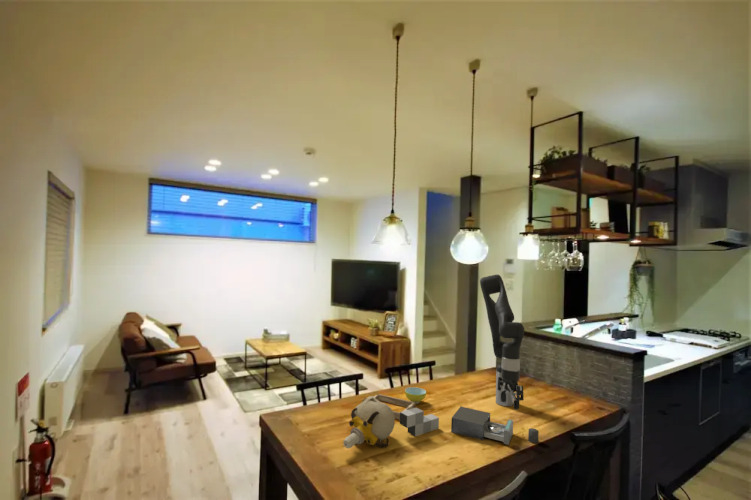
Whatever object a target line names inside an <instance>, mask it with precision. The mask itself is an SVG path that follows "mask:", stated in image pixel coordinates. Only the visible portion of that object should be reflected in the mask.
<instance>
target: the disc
mask: <svg viewBox="0 0 751 500" xmlns="http://www.w3.org/2000/svg"><path fill="white" fill-rule="evenodd" d="M488 432H490V433H493V434H501V433H502V428H501V427H500V426H498V425H494V424H490V425H488Z"/></svg>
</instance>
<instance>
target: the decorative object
mask: <svg viewBox="0 0 751 500" xmlns="http://www.w3.org/2000/svg"><path fill="white" fill-rule="evenodd" d="M374 396H375V395H371V396H370V395H369V396H367V397H363V399H362V400H361V401H362V402H361V403H359V404H358V405H356V407H355V408H353V409H352V410H351V413H350V416H351V417H350V418H351V420H350V421H349V422H348V425H349V426H350V427H353V428H352V429H351V430H350V434H349V435H348V436H346V437H345V438H344V440H343V442H342V444H343V446H342V448H344V447H345V448H346V449H351V448H353V446H355V445H356V444H357V445H362V444H363V443H364V442H365V441H366V443H367V444H368V445H371V446H376V447H378V448H387V446H389V443H390V442H389V439H388V437H389V436H390V435H391V434H392V432H393V430H394V428H395V425H396V423H395V422H396V421H395V420H396V419H395V416H394V412H393V411H394V410H393V409H392V408H391V407H390V406H389V405H388V404H387V403H386V402H383V401H379V400H377V399H375V398H374ZM374 400H375V401H374ZM384 440H386V442H382V441H384Z"/></svg>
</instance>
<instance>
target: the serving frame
mask: <svg viewBox="0 0 751 500" xmlns="http://www.w3.org/2000/svg"><path fill="white" fill-rule="evenodd" d="M373 396H374V398H375V399H377V400H378V401H380V402H383V403H389V404H392V405H396V406H400V407H405V409H403V411H406V410H409V409H413V408H416V404H415V402H411V401H410V400H406V399H402V398H398V397H393V396H389V395H384V394H380V393H377V394H376V395H373ZM374 401H375V400H374ZM392 411H393V412H394V416H395V420H398V421H400V411H399V412H398V411H395V410H392Z"/></svg>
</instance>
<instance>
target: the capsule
mask: <svg viewBox="0 0 751 500" xmlns="http://www.w3.org/2000/svg"><path fill="white" fill-rule="evenodd" d="M527 433H528V437H527V438H528V439H527V441H528V442H529V443H531V442H532V444H538V443H539V436H540V435H539V433H540V432H539V430H538V429H535V428H528V432H527Z"/></svg>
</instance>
